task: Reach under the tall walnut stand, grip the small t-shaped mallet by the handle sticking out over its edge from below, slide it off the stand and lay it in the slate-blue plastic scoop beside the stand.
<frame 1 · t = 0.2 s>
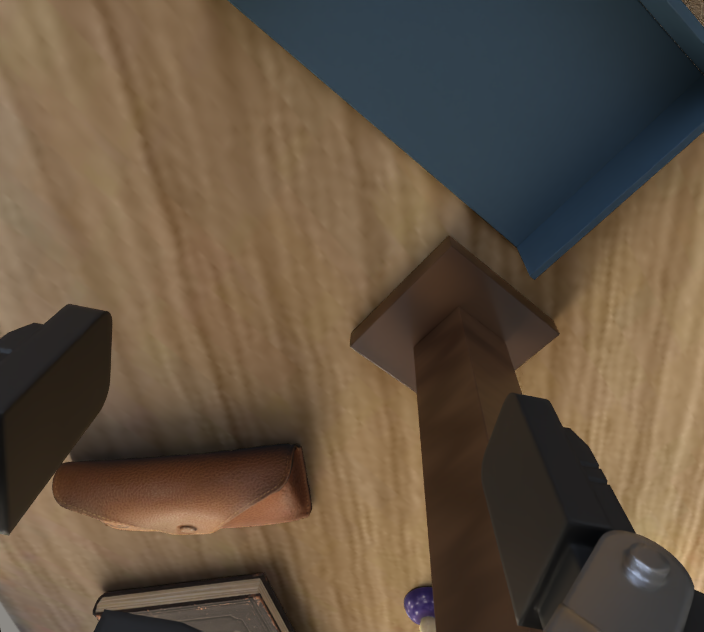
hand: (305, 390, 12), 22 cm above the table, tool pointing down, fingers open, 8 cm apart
sunglasses case: (195, 479, 46), on the table
stand: (444, 323, 37), on the table
toy lamp: (431, 599, 52), on the table
scoop: (457, 26, 28), on the table
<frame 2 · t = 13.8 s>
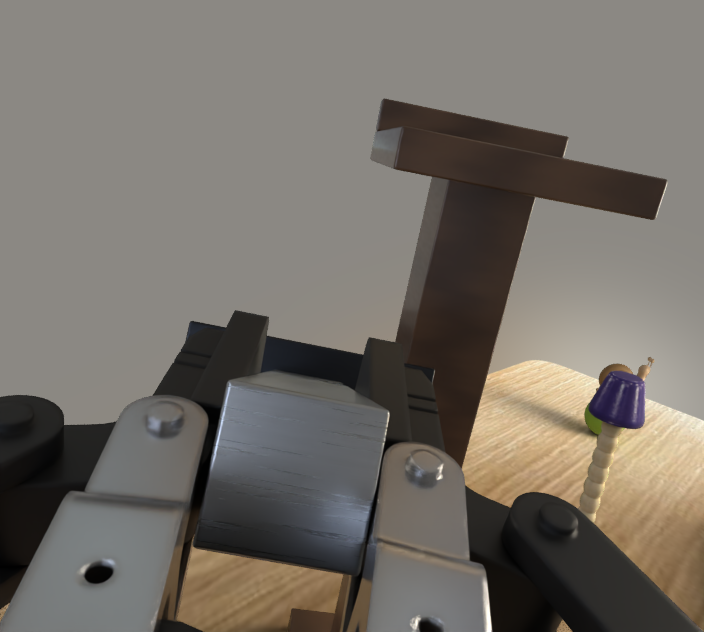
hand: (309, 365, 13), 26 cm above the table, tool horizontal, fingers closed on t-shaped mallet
snail figurine: (602, 436, 81), on the table
t-shaped mallet: (293, 450, 17), point 22 cm above the table, tilted 21°, touching gripper
toy lamp: (573, 539, 56), on the table
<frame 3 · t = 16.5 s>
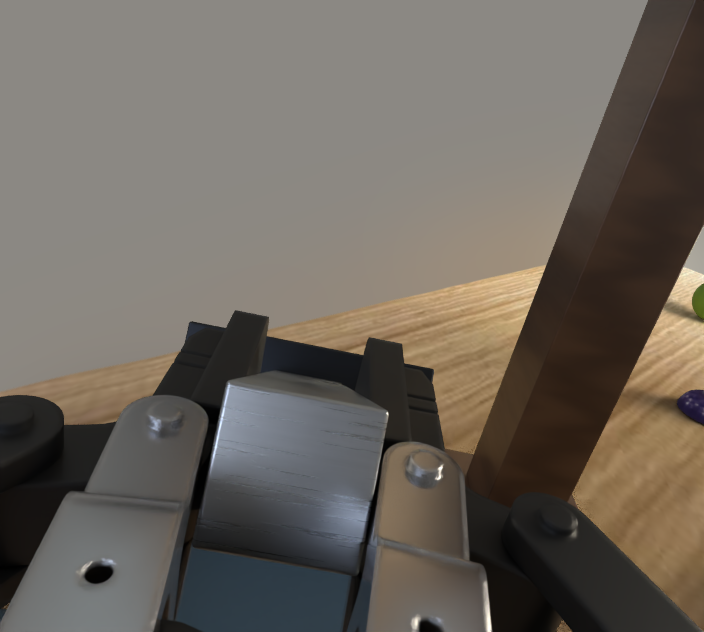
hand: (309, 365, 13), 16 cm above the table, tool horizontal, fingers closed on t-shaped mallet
t-shaped mallet: (292, 450, 17), point 12 cm above the table, tilted 31°, touching gripper
stand: (500, 537, 32), on the table
toy lamp: (697, 413, 51), on the table
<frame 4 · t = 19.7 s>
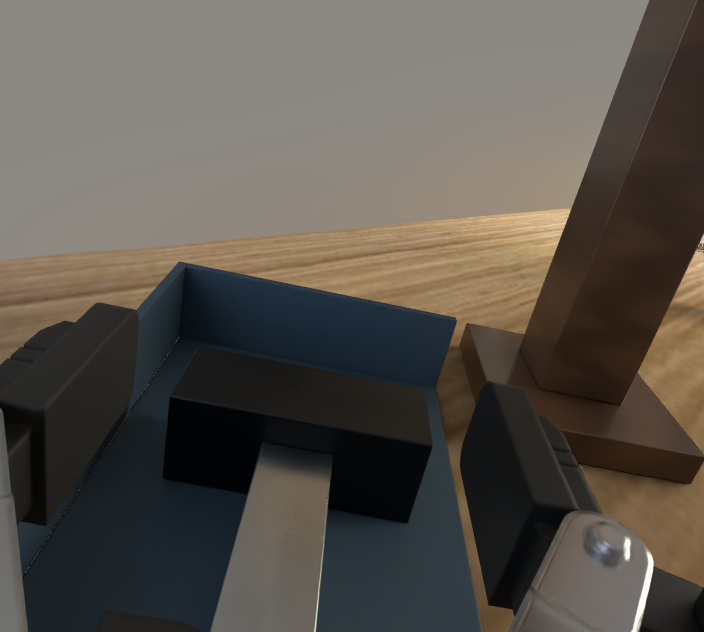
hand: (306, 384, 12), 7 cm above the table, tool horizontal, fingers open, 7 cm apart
t-shaped mallet: (281, 530, 18), resting on scoop
stand: (562, 412, 28), on the table
scoop: (273, 547, 18), on the table
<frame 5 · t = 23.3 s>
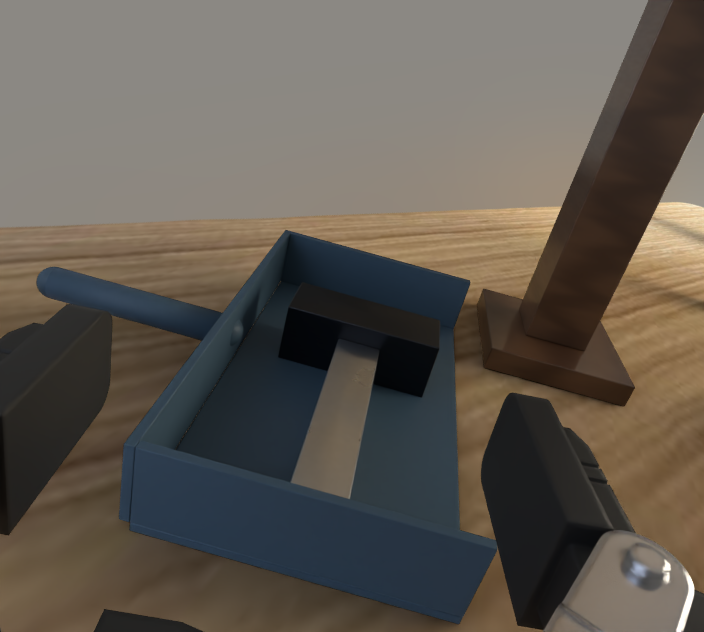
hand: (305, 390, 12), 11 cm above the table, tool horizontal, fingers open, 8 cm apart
t-shaped mallet: (346, 390, 30), resting on scoop
stand: (544, 354, 40), on the table
scoop: (341, 399, 30), on the table
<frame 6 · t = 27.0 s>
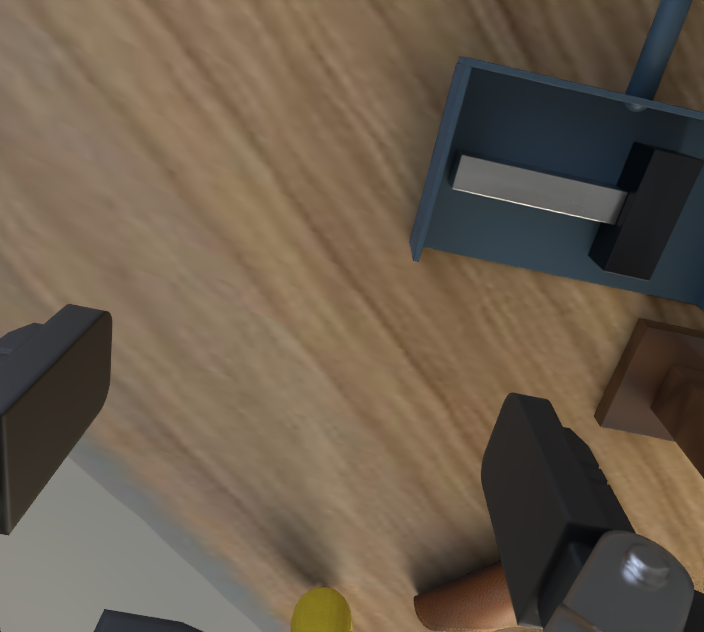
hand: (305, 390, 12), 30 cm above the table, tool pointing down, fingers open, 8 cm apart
t-shaped mallet: (592, 197, 40), resting on scoop
lemon: (324, 587, 57), on the table
sunglasses case: (515, 575, 55), on the table
stand: (664, 379, 46), on the table
scoop: (586, 193, 40), on the table
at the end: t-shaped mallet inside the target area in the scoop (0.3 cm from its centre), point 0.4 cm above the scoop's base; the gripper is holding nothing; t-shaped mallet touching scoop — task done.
